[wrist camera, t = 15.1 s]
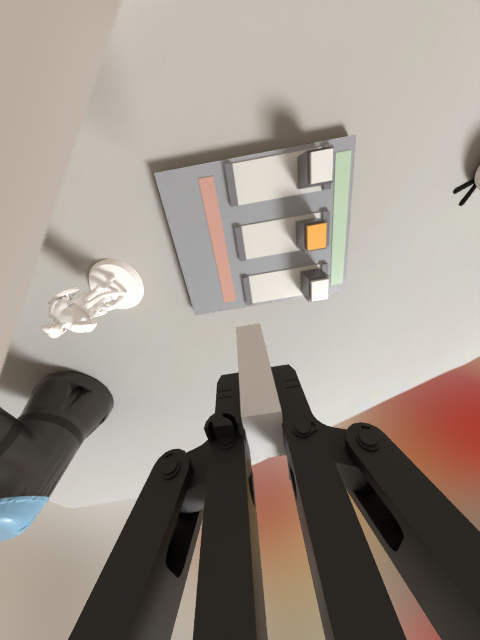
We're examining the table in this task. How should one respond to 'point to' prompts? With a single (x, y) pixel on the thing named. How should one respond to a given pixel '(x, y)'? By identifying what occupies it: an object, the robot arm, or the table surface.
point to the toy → (478, 182)
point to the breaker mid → (311, 234)
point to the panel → (256, 225)
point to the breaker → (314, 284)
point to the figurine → (95, 298)
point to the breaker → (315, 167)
